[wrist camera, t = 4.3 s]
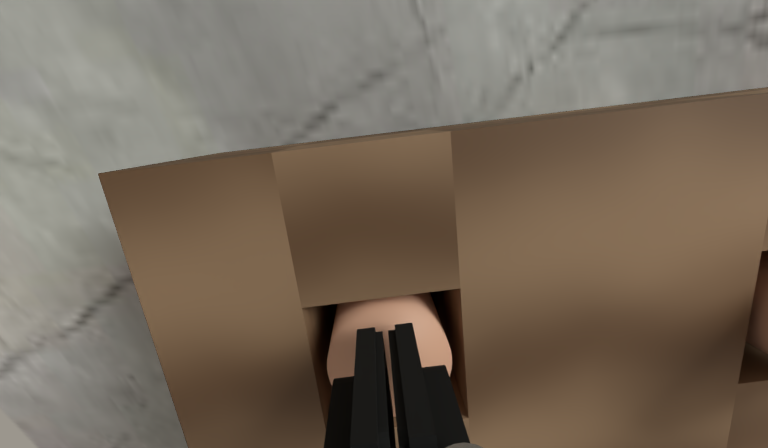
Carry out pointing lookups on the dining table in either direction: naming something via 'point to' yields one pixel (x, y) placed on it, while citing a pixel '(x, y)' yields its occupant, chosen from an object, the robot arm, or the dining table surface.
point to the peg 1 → (383, 319)
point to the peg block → (472, 273)
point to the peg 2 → (760, 308)
